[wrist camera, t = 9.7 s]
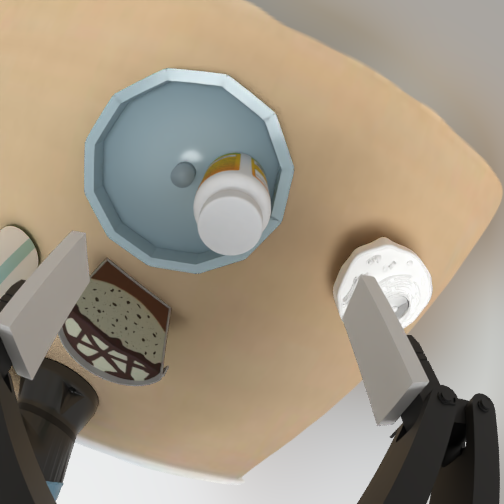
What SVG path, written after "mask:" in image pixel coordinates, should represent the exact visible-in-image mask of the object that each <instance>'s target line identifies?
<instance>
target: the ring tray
mask: <svg viewBox="0 0 504 504" xmlns="http://www.w3.org/2000/svg"><path fill="white" fill-rule="evenodd" d="M232 152H239V153H244V154H247V155H249V156H251V157H253V158H254V159H256V160H257V161H258V162H259V164H260V165H261V166H262V168H263V170H264V172H265V175H266V179H267V185H268V190H269V195H270V200H271V215H270V219H269V222H268V225H267V226H266V228H265V229H264V231H263V232H262V235H261V237H260V239H259V241H258V242H257V244H256V245H255V246H254V247H253V248H252V249H250V250H249V251H247V252H245V253H243V254H239V255H231V256H230V255H222V254H219V253H216V252H214V251H212V250H211V249H210V248H208V247H207V246H206V245H205V244H204V243H203V241H202V240H201V238H200V235H199V233H198V227H197V223H196V220H195V217H194V210H193V205H194V199H195V195H196V192H197V190H198V188H199V185H200V184H201V181H202V179H203V177H204V175H205V173H206V171H207V169H208V167H209V166H210V164H211V163H212V162H213V161H214V160H215V159H216V158H218V157H219V156H221V155H224V154H227V153H232ZM293 173H294V166H293V163H292V160H291V157H290V154H289V151H288V148H287V145H286V142H285V139H284V136H283V133H282V130H281V127H280V124H279V121H278V118H277V116H276V114H275V112H274V111H273V110H272V109H270V108H269V107H268V106H267V105H266V104H264V103H263V102H262V101H261V100H259V99H258V98H257V97H256V96H255V95H253V94H252V93H251V92H250V91H248V90H247V89H246V88H245V87H243V86H242V85H241V84H239V83H238V82H237V81H236V80H234V79H233V78H232V77H230V76H229V75H227V74H220V73H212V72H204V71H194V70H184V69H171V68H167V69H163V70H161V71H159V72H157V73H154V74H152V75H150V76H148V77H146V78H144V79H142V80H140V81H138V82H136V83H134V84H132V85H130V86H128V87H127V88H125V89H123V90H121V91H119V92H117V93H115V94H114V95H113V96H112V98H111V99H110V101H109V102H108V104H107V105H106V107H105V109H104V110H103V112H102V113H101V115H100V117H99V118H98V120H97V122H96V123H95V125H94V127H93V128H92V130H91V132H90V134H89V135H88V137H87V139H86V142H85V160H84V192H85V195H86V197H87V199H88V201H89V203H90V205H91V207H92V209H93V211H94V213H95V214H96V216H97V218H98V220H99V222H100V224H101V226H102V227H103V229H104V231H105V233H106V235H107V236H108V237H109V238H110V239H111V240H112V241H114V242H115V243H117V244H118V245H119V246H121V247H122V248H124V249H125V250H126V251H128V252H129V253H131V254H132V255H133V256H135V257H136V258H138V259H139V260H141V261H142V262H144V263H145V264H146V265H149V266H152V267H158V268H164V269H170V270H176V271H182V272H188V273H194V274H197V273H198V274H199V273H203V272H206V271H209V270H212V269H216V268H219V267H222V266H225V265H228V264H232V263H235V262H238V261H241V260H245V258H247V257H248V256H249V255H250V254H251V253H252V252H253V251H254V250H255V249H256V248H257V247H258V246H259V245H260V244H261V243H262V242H263V241H264V240H265V239H266V238H267V237H268V236H269V235H270V234H271V233H272V232H273V231H274V230H275V229H276V228H277V227H278V226H279V224H280V223H281V222H282V219H283V215H284V211H285V207H286V202H287V198H288V194H289V190H290V186H291V182H292V177H293Z"/></svg>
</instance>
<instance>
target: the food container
mask: <svg viewBox="0 0 504 504" xmlns="http://www.w3.org/2000/svg"><path fill="white" fill-rule="evenodd" d="M170 314H171V307H170V306H168V305H167V304H166V303H164V302H163V301H162V300H160V299H159V298H158V297H156V296H155V295H154V294H152V293H151V292H150V291H148V290H147V289H146V288H145V287H143V286H142V285H141V284H139V283H138V282H137V281H135V280H134V279H133V278H132V277H130V276H129V275H128V274H127V273H125V272H124V271H123V270H122V269H120V268H119V267H118V266H117V265H115V264H114V263H113V262H112V261H111V260H109V259H108V258H106V259H105V260H104V261H103V262H102V263H101V264H100V265H99V266H98V268H97V269H96V270H95V271H94V272H93V273H92V274H91V275H90V282H89V284H88V285H87V287H86V288H85V290H84V291H83V293H82V295H81V296H80V298H79V299H78V301H77V303H76V304H75V306H74V307H73V309H72V311H71V312H70V314H69V316H68V317H67V319H66V320H65V322H64V324H63V326H62V327H61V329H60V331H59V332H58V335H59V338H60V340H61V342H62V344H63V346H64V348H65V349H66V350H67V352H68V353H69V354H70V355H71V357H72V358H73V359H74V360H75V361H76V362H78V363H79V364H80V365H81V366H82V367H84V368H85V369H86V370H88V371H89V372H91V373H93V374H94V375H96V376H98V377H100V378H102V379H105V380H107V381H110V382H113V383H117V384H121V385H127V386H144V385H150V384H153V383H156V382H158V381H159V380H161V378H162V377H163V376H165V374H166V372H167V370H168V368H169V366H166V367H165V368H163V365H164V357H165V349H166V342H167V334H168V327H169V320H170Z"/></svg>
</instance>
